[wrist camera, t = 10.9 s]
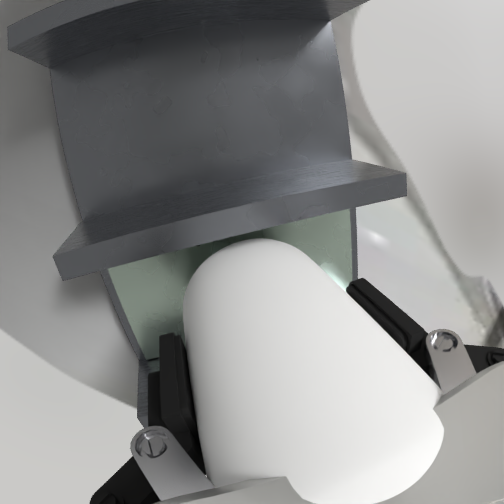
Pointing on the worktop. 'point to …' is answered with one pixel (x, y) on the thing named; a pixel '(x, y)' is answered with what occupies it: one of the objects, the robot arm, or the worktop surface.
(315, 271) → the can
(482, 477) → the robot arm
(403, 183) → the grey ribbed shelf
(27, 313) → the worktop surface
